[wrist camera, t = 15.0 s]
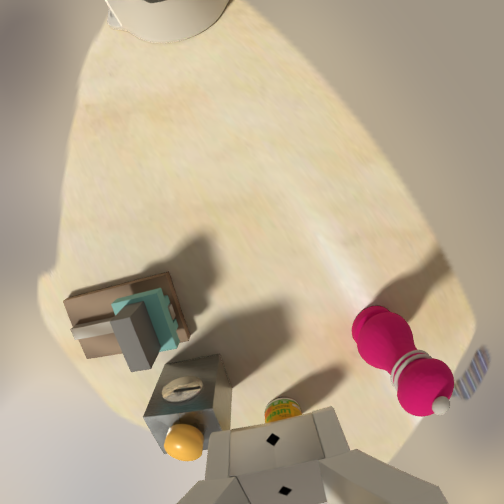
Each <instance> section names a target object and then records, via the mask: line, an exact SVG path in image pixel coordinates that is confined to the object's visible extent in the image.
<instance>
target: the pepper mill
mask: <svg viewBox="0 0 504 504" xmlns="http://www.w3.org/2000/svg"><path fill="white" fill-rule="evenodd" d="M352 336H353V338H354V340H355V342H356V343H357V347H358V351H359V354H360V355H361V357H362V358H363V359H364V360H365V361H366V362H367V363H368V364H370V365H371V366H373V367H375V368H379V369H383V370H386V371H387V372H388V373H389V374H390V375H391V382H392V385H393V386H394V387H395V389H396V390H397V397H398V400H399V402H400V404H401V406H402V407H403V408H404V409H405V411H407V412H408V413H410V414H412V415H415V416H428V415H431V414H433V413H435V414H437V415H442V414H444V413H446V412H447V411H448V410H449V408H450V401H449V399H450V397H451V395H452V392H453V388H454V377H453V374H452V372H451V370H450V369H449V367H448V366H447V365H446V364H445V363H444V362H443V361H440V360H438V359H434V358H432V357H431V356H429V354H428V353H427V352H425V351H423V350H417V348H416V347H415V345H414V340H413V334H412V331H411V329H410V326H409V325H408V323H407V322H406V321H405V320H404V319H403V318H402V317H401V316H400V315H398V314H396V313H392V312H390V311H389V310H388V309H386V308H385V307H382V306H371V307H368V308H366V309H365V310H363V311H362V312H361V313H360V314H358V316H357V317H356V319H355V321H354V323H353V326H352Z"/></svg>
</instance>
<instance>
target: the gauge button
mask: <svg viewBox="0 0 504 504" xmlns="http://www.w3.org/2000/svg"><path fill="white" fill-rule="evenodd" d="M203 443H204V436H203V434H202V433H201V431H200V430H198V429H197V428H196V427H194V426H191V425H187V424H176V425H173V426H172V427H170V428H169V430H168V432H167V436H166V439H165V443H164V448H165V451H166V452H167V453H168V454H169V455H170V456H172V457H173V458H176V459H178V460H182V461H193V460H196V459H198V458H199V457H200V456H201V455H202V450H203Z"/></svg>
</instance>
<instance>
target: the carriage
mask: <svg viewBox="0 0 504 504" xmlns="http://www.w3.org/2000/svg"><path fill="white" fill-rule="evenodd" d="M169 304H170V300H169V297H168V295H165V296H164V295H163V292H162V289H161V288H158V289H154V290H150V291H146V292H142V293H138V294H134V295H130V296H126V297H122V298H117V299H116V300H115V301H114V302H113V303H112V304H111V305H112V308H113V311H114V313H115V317H114V318H113V319H112V320H111V321H110V324H111V326H112V329H113V331H114V334H115V336H116V339H117V341H118V343H119V346H120V348H121V350H122V353H123V355H124V357H125V360H126V362H127V364H128V366H129V368H130V371H131V372H135V371H141V370H148V369H151V368H152V366H153V364H154V362H155V360H156V358H157V355H158V353H159V352H161V351H166V350H172V349H177V347H178V344H179V342H180V340H179V337H178V335H177V332H176V330H177V328H178V323H177V321H176V319H174V320H172V318H171V315H170V312H169V309H168V305H169Z"/></svg>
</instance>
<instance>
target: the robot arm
mask: <svg viewBox="0 0 504 504" xmlns="http://www.w3.org/2000/svg"><path fill="white" fill-rule="evenodd" d="M105 1H106V3H107V5H108V6H109V12H108V20H107V22H108V25H109V26H110V28H112V29H116V30H126V31H128V32H130V33H131V34H133V35H134V36H136V37H138V38H140V39H142V40H144V41H148V42H153V43H171V42H177V41H181V40H184V39H188V38H190V37H193V36H195V35H197V34H199V33H201V32H202V31H204V30H206V29H207V28H208V27H210V26H211V25H212V24H213V23H214V22H215V21H216V20H217V19H218V18H219V17H220V15H221V14H222V12H223V11H224V9H225V7H226V5H227V3H228V2H229V0H105ZM324 502H327V503H328V504H448V502H447V500H446V498H445V497H444V495H443V494H442V492H441V490H440V488H439V487H438V486H436V485H434V484H431V483H429V482H426V481H424V480H421V479H419V478H417V477H414V476H412V475H410V474H408V473H406V472H403V471H401V470H399V469H397V468H395V467H393V466H390V465H388V464H386V463H384V462H382V461H380V460H378V459H376V458H374V457H372V456H370V455H368V454H366V453H364V452H362V451H360V450H358V449H355V450H351V451H350V448H349V446H348V443H347V441H346V438H345V436H344V433H343V430H342V428H341V425H340V423H339V420H338V418H337V415H336V413H335V410H334V408H333V407H332V406H330V407H327V408H323V409H320V410H316V411H313V412H312V413H307V414H303V415H299V416H295V417H291V418H287V419H283V420H279V421H275V422H270V423H265V424H260V425H254V426H248V427H242V428H236V429H232V430H225V431H217V432H212V433H211V435H210V437H209V446H208V455H207V465H206V473H205V480H202V481H198V482H197V483H196V484H195V485H194V486H193V487H192V488H191V489H190V490H189V492H188V493H187V494H186V495H185V496H184V497H183V498H182V499H181V500H180V501H179V502H178V503H177V504H319V503H324Z"/></svg>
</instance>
